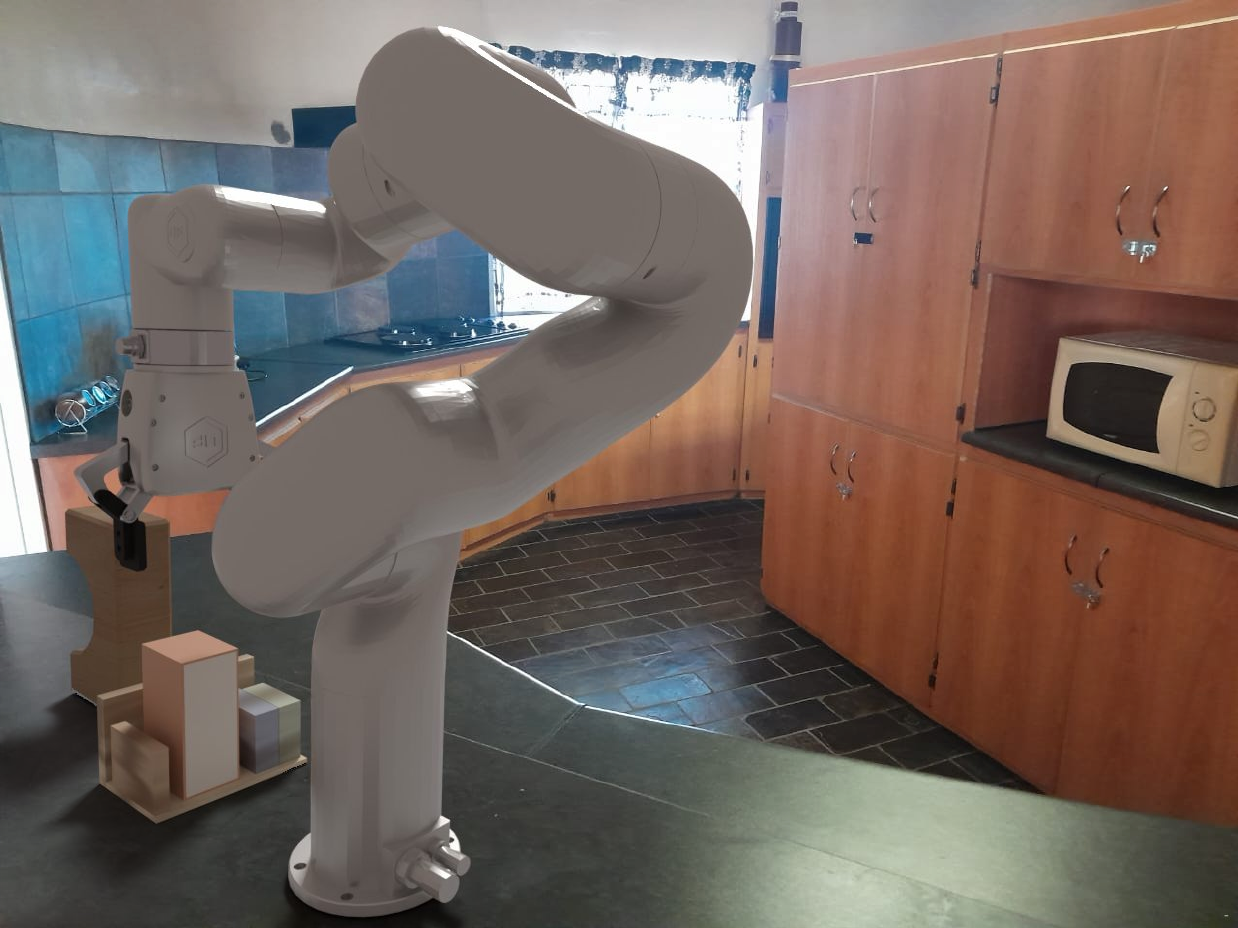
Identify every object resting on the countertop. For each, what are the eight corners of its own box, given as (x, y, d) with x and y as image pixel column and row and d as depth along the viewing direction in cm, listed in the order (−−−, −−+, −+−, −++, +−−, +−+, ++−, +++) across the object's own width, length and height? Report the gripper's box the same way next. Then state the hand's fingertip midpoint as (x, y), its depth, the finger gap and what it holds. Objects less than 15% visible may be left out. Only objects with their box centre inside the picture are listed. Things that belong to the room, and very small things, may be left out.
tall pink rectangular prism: (239, 779, 81) (238, 648, 79) (184, 800, 77) (181, 663, 75) (199, 755, 85) (197, 630, 83) (145, 774, 81) (141, 643, 79)
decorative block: (69, 693, 97) (62, 508, 94) (125, 678, 102) (120, 501, 99) (118, 725, 91) (112, 527, 88) (175, 708, 95) (172, 519, 92)
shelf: (307, 762, 85) (307, 680, 84) (156, 823, 74) (154, 729, 73) (247, 731, 91) (247, 653, 90) (99, 783, 80) (96, 695, 79)
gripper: (94, 354, 66) (105, 586, 68) (304, 354, 80) (307, 548, 82) (49, 350, 70) (60, 568, 73) (255, 351, 84) (259, 535, 87)
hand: (191, 557), depth 78 cm, fingers open, 9 cm apart
